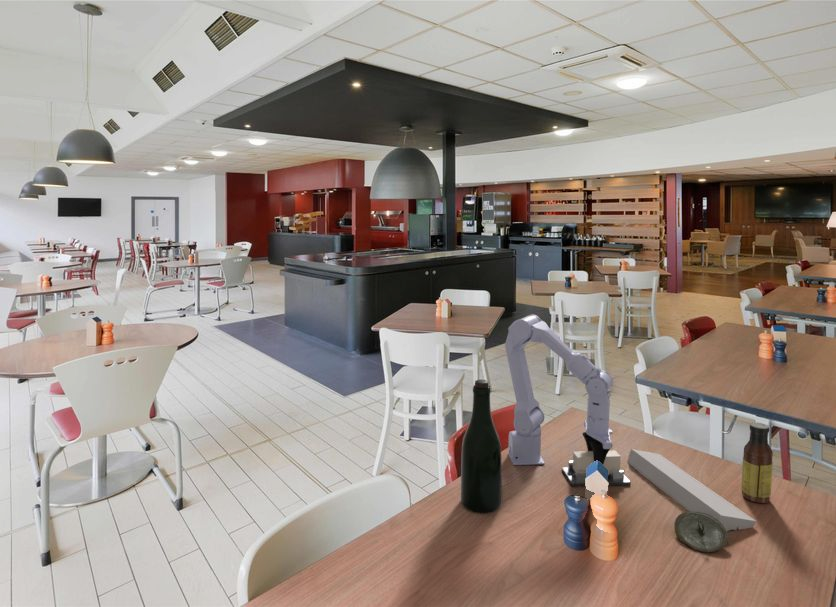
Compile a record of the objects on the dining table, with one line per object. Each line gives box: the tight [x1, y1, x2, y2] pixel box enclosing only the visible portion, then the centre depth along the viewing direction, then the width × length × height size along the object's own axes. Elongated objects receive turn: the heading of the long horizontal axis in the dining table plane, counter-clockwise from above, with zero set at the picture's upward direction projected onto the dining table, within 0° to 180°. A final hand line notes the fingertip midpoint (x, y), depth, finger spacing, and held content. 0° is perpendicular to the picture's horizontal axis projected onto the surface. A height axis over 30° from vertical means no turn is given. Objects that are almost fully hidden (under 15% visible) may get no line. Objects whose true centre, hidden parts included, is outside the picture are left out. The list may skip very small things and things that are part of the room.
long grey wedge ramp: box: [626, 448, 757, 532], centre depth 129 cm, size 34×5×10 cm
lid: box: [674, 511, 729, 553], centre depth 109 cm, size 11×10×5 cm
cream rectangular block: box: [572, 449, 621, 473], centre depth 136 cm, size 12×4×5 cm, turn 91°
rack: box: [561, 460, 632, 488], centre depth 136 cm, size 16×9×4 cm, turn 91°
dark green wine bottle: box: [460, 379, 503, 514], centre depth 122 cm, size 10×10×33 cm
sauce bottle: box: [741, 421, 774, 504], centre depth 124 cm, size 6×6×20 cm
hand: (596, 461), depth 136 cm, fingers closed on cream rectangular block, 3 cm apart
